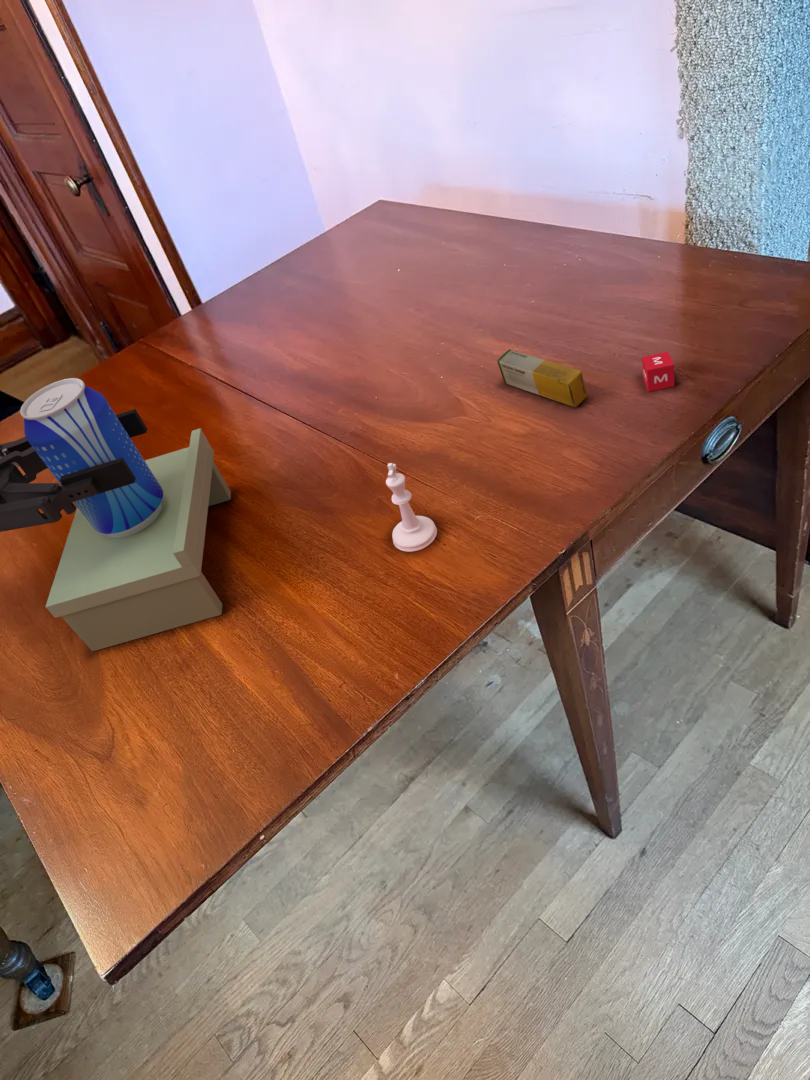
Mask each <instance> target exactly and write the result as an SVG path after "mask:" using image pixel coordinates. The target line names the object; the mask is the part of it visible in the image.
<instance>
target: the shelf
mask: <svg viewBox="0 0 810 1080" xmlns="http://www.w3.org/2000/svg"><path fill="white" fill-rule="evenodd" d="M214 457H215V451H214V450H213V448H212V446H211V444H210V442H209V440H208V439H207V437H206V435H205V433H204V432H203V429H202V428H200V427H199V428H197V429H196V428H195V429H194V430H193V429H192V430H191V434H190V439H189V446H188V447H184V448H180V449H177V450H175V451H171V452H168V453H165V454H161V455H158V456H155V457H152V458H148V459H144V461H145V462H146V464H147V465H148V467H149V469H150V470H151V472H152V473H153V475H154V477H155V478H156V480H157V481H158V483H159V484H160V486H161V488H162V490H163V494H164V495H163V500H162V504H163V505H162V510H161V512H160V514H159V516H158V517H157V518H156V520H155V521H154V522H153V523H152V524H150V525H149V526H148V527H147V528H145V529H143V530H142V531H140V532H138V533H136V534H134V535H131V536H127V537H122V538H114V537H110V536H108V535H105V534H101V533H98V532H97V531H95V530H94V529H93V527H92V526H91V525H90V523H89V522H88V521H87V519H86V518H85V517H84V515H83V514H82V513H81V511H80V510H79V509H78V507H77V506H76V510H75V512H74V516H73V520H72V523H71V525H70V529H69V532H68V534H67V537H66V541H65V544H64V547H63V551H62V554H61V557H60V560H59V564H58V567H57V569H56V573H55V576H54V579H53V582H52V585H51V588H50V591H49V594H48V598H47V601H46V604H45V609H47V611H48V612H49V613H50V614H51V615H52V616H53V618H54V619H57V618H60V617H61V618H62V619H63V620H64V621H65V623H66V624H67V625H68V626H69V627H70V629H72V630H73V632H74V633H75V634H76V635H77V636H78V637H79V639H81V641H82V642H83V643H84V644H85V645H86V646H87V647H88V648H89V649H90V651H91V652H95V651H99V650H103V649H106V648H109V647H113V646H116V645H120V644H124V643H128V642H131V641H135V640H138V639H141V638H145V637H148V636H151V635H155V634H159V633H162V632H166V631H170V630H172V629H173V630H174V629H176V628H179V627H183V626H187V625H190V624H193V623H197V622H201V621H204V620H208V619H212V618H215V617H219V616H222V614H223V603H222V601H221V600H220V598H219V596H218V595H217V593H216V592H215V590H214V589H213V587H212V586H211V584H210V583H209V581H208V580H207V578H206V576H205V575H204V573H203V572H202V566H203V556H204V549H205V548H204V547H205V541H206V540H205V539H206V530H207V521H208V513H209V507H212V506H215V505H218V504H221V503H224V502H228V501H231V499H232V498H231V497H232V492H231V489H230V488H229V486H228V484H227V482H226V481H225V478H224V477H223V475H222V473H221V471H220V469H219V468H218V466H217V464H216V462H215V460H214V459H215V458H214Z"/></svg>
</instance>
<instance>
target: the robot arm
mask: <svg viewBox="0 0 810 1080" xmlns="http://www.w3.org/2000/svg"><path fill="white" fill-rule="evenodd" d="M115 415H116V416H117V418H118V420H119V421H120V423H121V424H122V426H123V427H124V429H125V431H126V432H127V434H128V435H129V437H130V439H131V438H134V437H138V436H141V435H144V434H147V433H148V427H147V425H146V424H145V422H144V421H143V418H142V417H141V415H140V413H139V412H138V411H137V409H136V408H134V409H130V410H127V411H124V412H121V413H118V414H115ZM19 468H20V469H21V470H22V471H23V473H24V474H23V473H22V472H21V470H20V469H19ZM47 469H48V467H47V466H46V465H45V463H44V462H43V460H42V459H41V458H40V456H39V455H38V454H37V452H36V451H35V450H34V448H33V447H32V446H31V444H30V443H29V442H28V440H27V439H26V437H25V436H23V437H21V438H18V439H16V440H12V441H8V442H3V443H0V533H1V532H7V531H13V530H19V529H25V528H30V527H36V526H42V525H47V524H53V523H54V524H55V523H58V522H59V521H61V519H62V518H63V514H62V513H61V512H62V510H63V511H64V513H65V514H66V515H68V516H69V515H72V514H74V513H75V512H76V510H77V506H76V505H75V503H74V502H75V501H78V500H81V499H85V498H87V497H91V496H94V495H96V494H100V493H103V492H106V491H110V490H113V489H116V488H120V487H123V486H126V485H129V484H133V483H135V480H136V478H135V476H134V475H133V473H132V471H131V470H130V468H129V467H128V465H127V464H126V462H125V461H124V459H123V458H119V459H116V460H113V461H109V462H106V463H103V464H100V465H96V466H93V467H90V468H86V469H83V470H80V471H77V472H73V473H70V474H67V475H64V476H61V478H60V482H61V483H62V485H63V486H61V485H60V483H59V482H58V483H57V482H34V481H35V480H36V479H37V475H39V474H40V473H41V472H43V471H45V470H47ZM40 510H41V511H42V512H41V511H40Z"/></svg>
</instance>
